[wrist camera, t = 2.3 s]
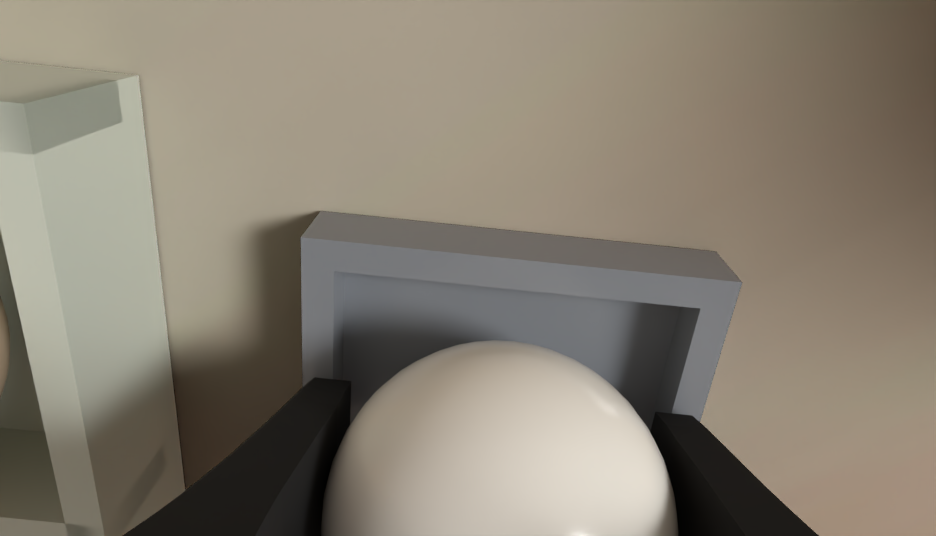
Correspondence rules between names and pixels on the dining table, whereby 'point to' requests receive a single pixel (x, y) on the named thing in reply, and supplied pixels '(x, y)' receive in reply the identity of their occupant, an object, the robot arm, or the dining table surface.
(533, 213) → the dining table surface
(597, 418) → the white egg
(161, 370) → the egg tray
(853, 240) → the dining table surface
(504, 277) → the dish
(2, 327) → the brown egg
